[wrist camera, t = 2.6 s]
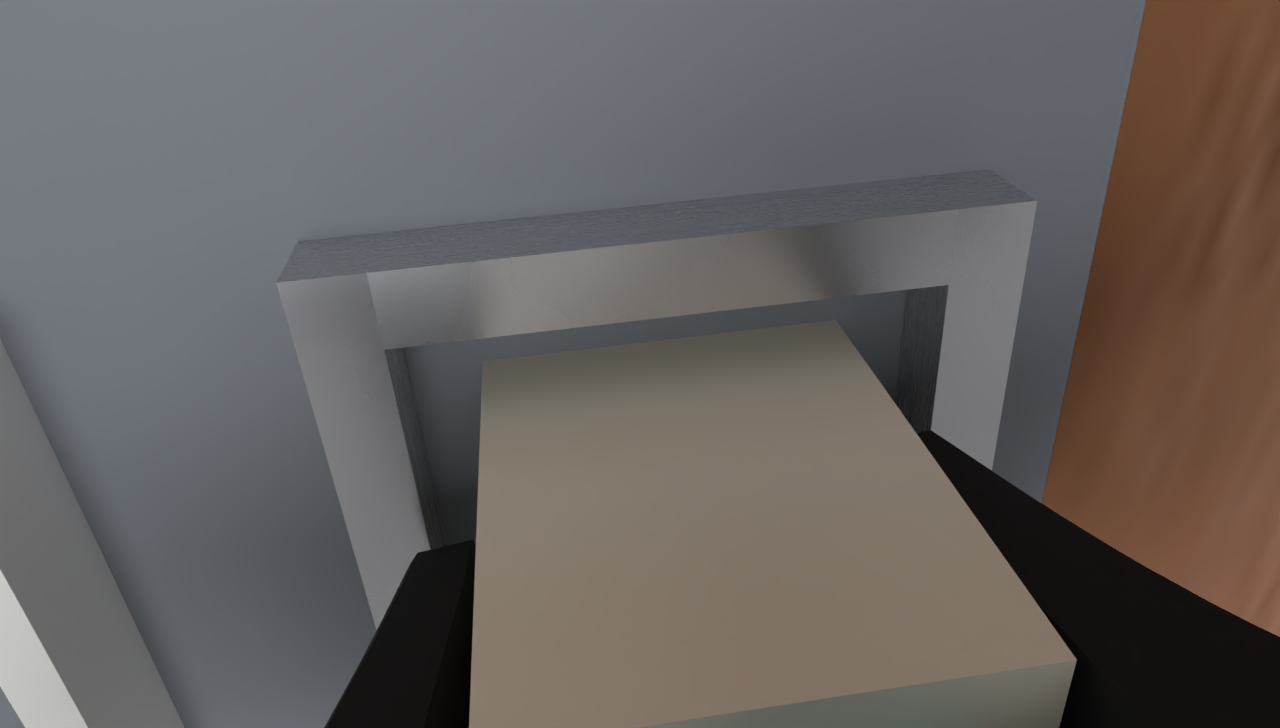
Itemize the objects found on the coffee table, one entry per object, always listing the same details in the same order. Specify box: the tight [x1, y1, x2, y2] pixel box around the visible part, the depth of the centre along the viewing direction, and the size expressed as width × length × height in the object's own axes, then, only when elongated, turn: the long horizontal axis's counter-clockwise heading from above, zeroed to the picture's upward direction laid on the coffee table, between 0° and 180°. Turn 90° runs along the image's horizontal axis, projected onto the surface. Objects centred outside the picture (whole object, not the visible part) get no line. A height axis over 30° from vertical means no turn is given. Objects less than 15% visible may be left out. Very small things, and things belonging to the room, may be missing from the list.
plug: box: [469, 320, 1077, 728], centre depth 9 cm, size 4×4×6 cm
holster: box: [276, 169, 1037, 630], centre depth 11 cm, size 7×7×1 cm
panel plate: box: [0, 0, 1146, 728], centre depth 11 cm, size 20×12×1 cm, turn 93°
